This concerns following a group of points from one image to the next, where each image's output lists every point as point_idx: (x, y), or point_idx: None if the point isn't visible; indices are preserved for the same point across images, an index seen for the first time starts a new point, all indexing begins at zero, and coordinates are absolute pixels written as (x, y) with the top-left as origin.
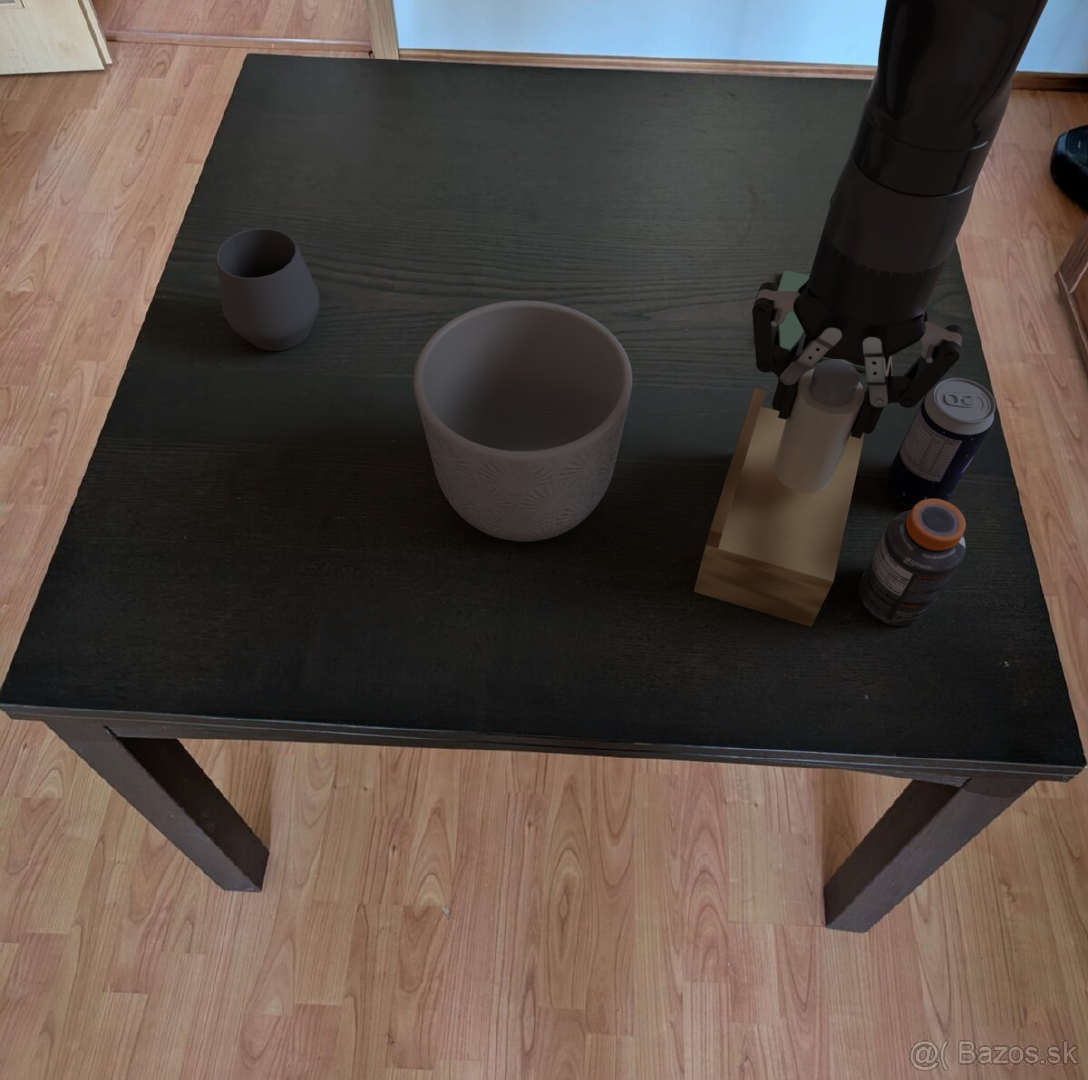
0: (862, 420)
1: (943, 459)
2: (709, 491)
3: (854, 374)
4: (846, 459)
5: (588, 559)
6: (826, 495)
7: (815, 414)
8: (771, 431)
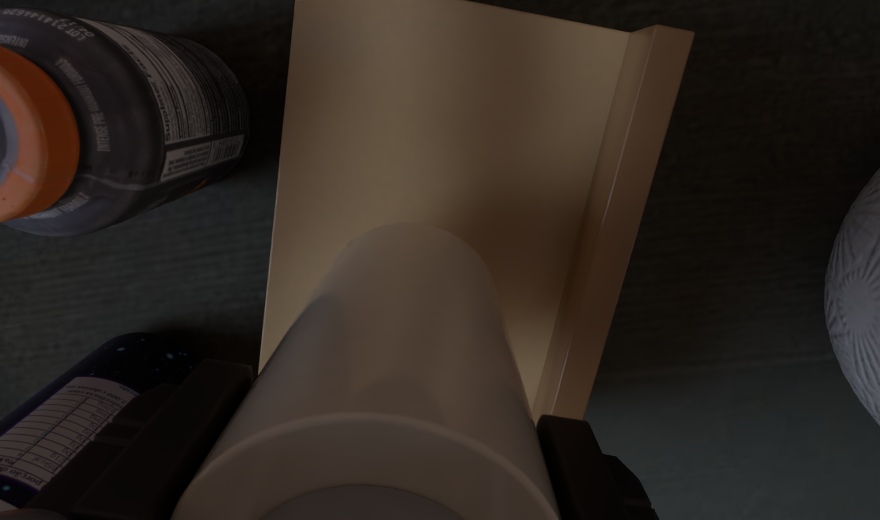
0: (175, 427)
1: (41, 420)
2: None
3: None
4: None
5: (825, 103)
6: None
7: (456, 414)
8: None
